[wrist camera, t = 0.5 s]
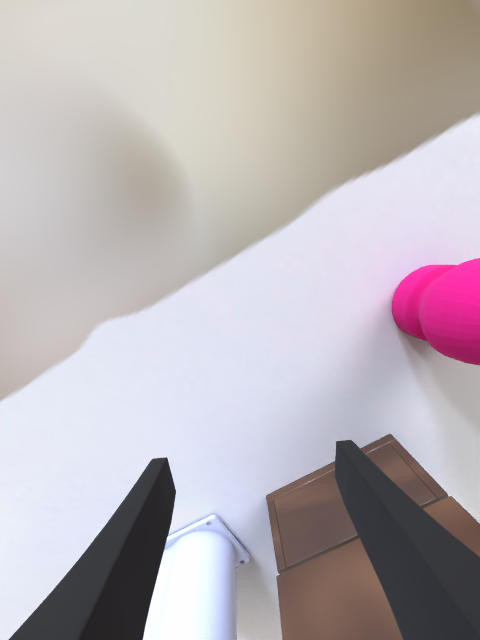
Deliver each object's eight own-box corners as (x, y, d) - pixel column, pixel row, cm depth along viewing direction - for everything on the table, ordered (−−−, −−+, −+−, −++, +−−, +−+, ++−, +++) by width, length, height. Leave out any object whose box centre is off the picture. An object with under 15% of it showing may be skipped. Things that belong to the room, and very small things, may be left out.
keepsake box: (426, 506, 25) (487, 581, 19) (312, 558, 27) (336, 644, 21) (390, 433, 23) (447, 493, 17) (265, 495, 24) (277, 572, 18)
